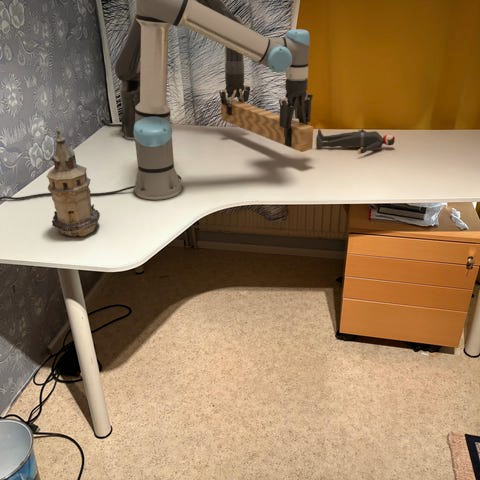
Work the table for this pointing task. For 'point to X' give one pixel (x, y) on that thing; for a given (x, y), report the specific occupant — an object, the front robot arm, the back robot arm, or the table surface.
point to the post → (268, 125)
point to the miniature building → (70, 193)
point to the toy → (355, 140)
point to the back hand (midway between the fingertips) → (235, 113)
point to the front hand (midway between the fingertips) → (294, 144)
